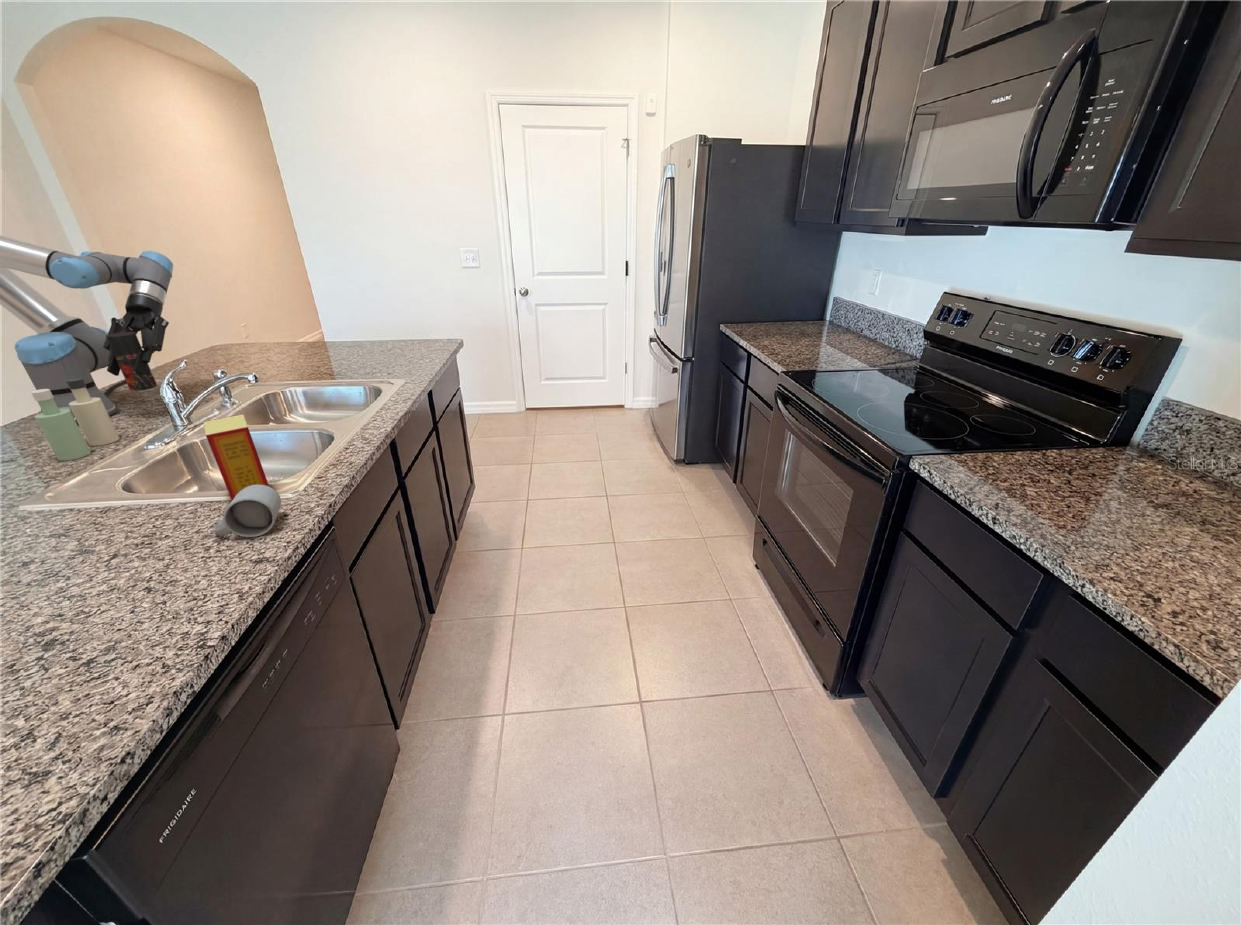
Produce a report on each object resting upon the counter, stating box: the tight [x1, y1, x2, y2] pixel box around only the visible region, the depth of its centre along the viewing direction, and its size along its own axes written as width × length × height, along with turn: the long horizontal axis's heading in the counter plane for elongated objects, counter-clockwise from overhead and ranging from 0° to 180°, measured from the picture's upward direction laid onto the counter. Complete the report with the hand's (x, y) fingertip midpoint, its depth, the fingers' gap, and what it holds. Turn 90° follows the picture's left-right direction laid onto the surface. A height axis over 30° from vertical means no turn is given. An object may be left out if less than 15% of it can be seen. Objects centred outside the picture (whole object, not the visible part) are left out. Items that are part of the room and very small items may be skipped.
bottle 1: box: [30, 389, 92, 462], centre depth 119 cm, size 6×6×16 cm
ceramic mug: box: [213, 485, 282, 538], centre depth 92 cm, size 11×8×8 cm
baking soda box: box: [203, 413, 270, 501], centre depth 102 cm, size 10×6×16 cm
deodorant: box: [106, 332, 158, 392], centre depth 140 cm, size 6×6×15 cm
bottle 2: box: [66, 378, 120, 447], centre depth 127 cm, size 6×6×16 cm
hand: (125, 372), depth 137 cm, fingers closed on deodorant, 6 cm apart
